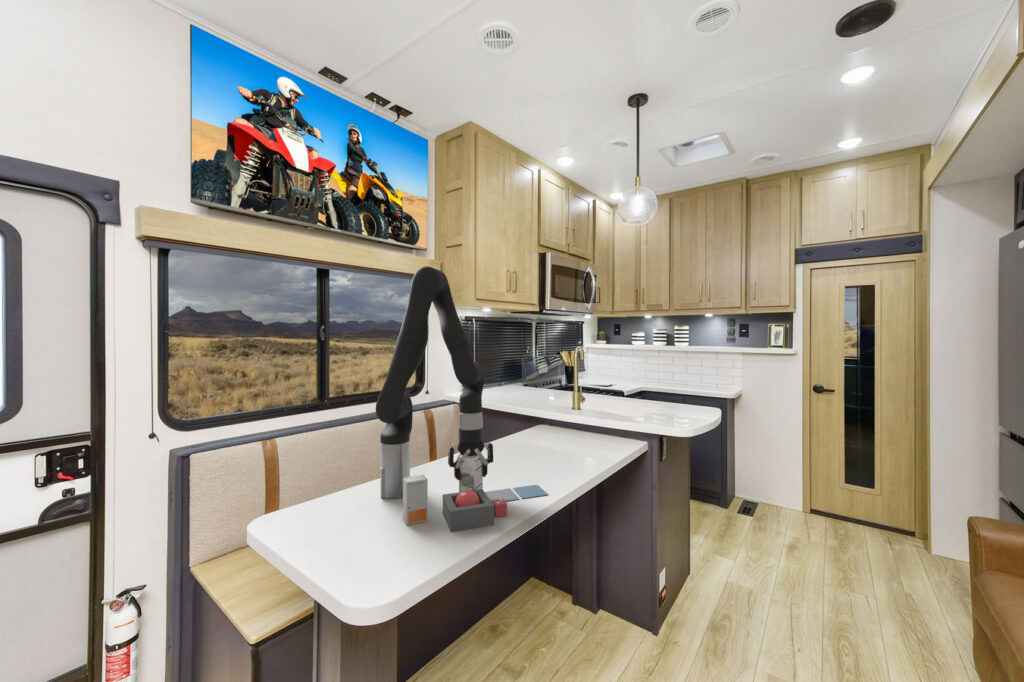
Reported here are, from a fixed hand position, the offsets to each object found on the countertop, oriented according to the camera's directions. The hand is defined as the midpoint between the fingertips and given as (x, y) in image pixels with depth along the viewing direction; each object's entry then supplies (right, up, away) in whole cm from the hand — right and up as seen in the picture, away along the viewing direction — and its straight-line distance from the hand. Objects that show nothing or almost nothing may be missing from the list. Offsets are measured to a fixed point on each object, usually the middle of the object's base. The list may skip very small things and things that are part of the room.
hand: (471, 477), depth 127 cm
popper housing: (+3, -7, -12) cm, 14 cm away
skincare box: (-14, -8, -13) cm, 21 cm away
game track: (+9, -7, +3) cm, 12 cm away
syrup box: (0, -7, 0) cm, 7 cm away
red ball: (0, -7, -13) cm, 14 cm away
